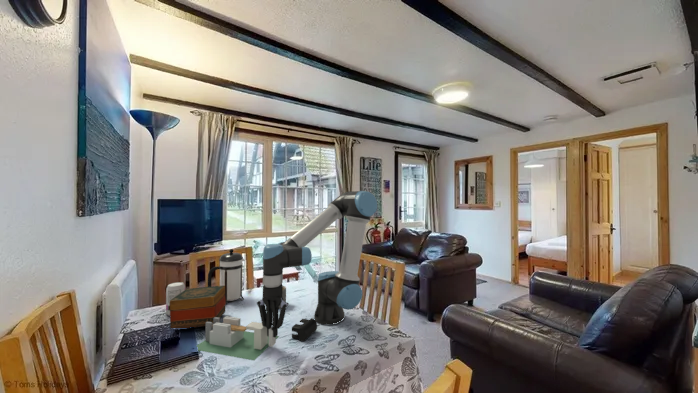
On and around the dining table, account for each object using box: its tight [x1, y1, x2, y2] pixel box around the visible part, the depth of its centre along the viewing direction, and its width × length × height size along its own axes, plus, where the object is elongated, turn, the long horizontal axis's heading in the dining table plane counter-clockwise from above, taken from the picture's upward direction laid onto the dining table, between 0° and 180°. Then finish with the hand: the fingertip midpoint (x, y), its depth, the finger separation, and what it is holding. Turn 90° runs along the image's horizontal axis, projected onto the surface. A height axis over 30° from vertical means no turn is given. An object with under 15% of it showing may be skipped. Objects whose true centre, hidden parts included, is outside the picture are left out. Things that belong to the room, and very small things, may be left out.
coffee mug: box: [279, 285, 287, 310], centre depth 154 cm, size 13×10×10 cm
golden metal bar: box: [212, 322, 248, 331], centre depth 113 cm, size 17×3×1 cm, turn 75°
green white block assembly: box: [196, 316, 280, 361], centre depth 112 cm, size 28×18×9 cm, turn 75°
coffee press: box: [207, 248, 245, 306], centre depth 160 cm, size 17×16×30 cm
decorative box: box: [169, 285, 227, 329], centre depth 132 cm, size 20×22×16 cm
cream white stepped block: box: [245, 321, 268, 350], centre depth 110 cm, size 7×5×8 cm
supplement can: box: [165, 281, 186, 317], centre depth 143 cm, size 8×8×15 cm
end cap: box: [291, 318, 318, 343], centre depth 118 cm, size 10×7×7 cm
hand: (272, 344), depth 108 cm, fingers closed
